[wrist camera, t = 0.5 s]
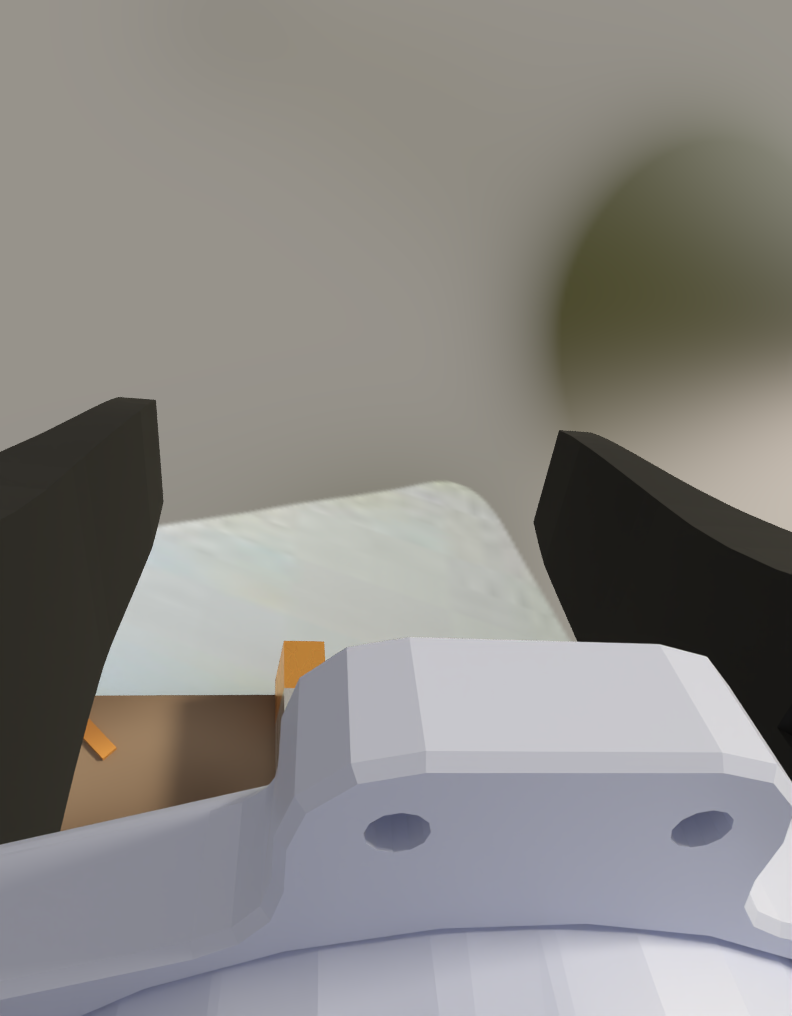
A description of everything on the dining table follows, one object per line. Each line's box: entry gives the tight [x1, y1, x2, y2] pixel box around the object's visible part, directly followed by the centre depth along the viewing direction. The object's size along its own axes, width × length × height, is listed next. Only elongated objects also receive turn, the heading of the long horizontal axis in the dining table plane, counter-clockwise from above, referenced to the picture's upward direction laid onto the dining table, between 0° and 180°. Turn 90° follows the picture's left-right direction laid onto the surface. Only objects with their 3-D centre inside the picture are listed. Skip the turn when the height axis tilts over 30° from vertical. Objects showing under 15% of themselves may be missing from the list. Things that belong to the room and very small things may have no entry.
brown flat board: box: [60, 695, 275, 831], centre depth 24 cm, size 14×18×1 cm
